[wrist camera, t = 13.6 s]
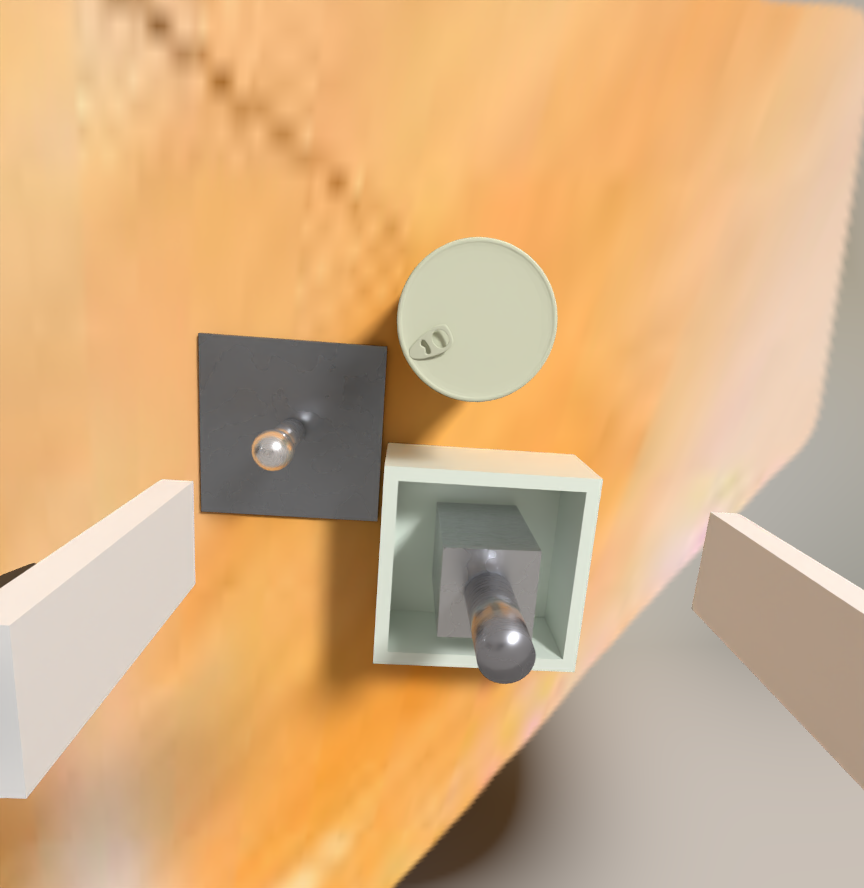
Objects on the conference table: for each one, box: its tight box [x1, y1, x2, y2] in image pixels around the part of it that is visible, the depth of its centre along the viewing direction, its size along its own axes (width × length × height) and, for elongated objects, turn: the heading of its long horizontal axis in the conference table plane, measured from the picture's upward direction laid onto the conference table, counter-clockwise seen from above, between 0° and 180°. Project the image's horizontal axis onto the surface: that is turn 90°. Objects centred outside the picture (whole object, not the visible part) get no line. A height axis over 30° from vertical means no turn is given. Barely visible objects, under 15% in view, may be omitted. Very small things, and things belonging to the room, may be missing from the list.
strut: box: [432, 502, 542, 684], centre depth 39 cm, size 6×6×16 cm
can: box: [397, 237, 557, 402], centre depth 37 cm, size 9×9×12 cm
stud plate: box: [198, 333, 387, 521], centre depth 41 cm, size 14×14×8 cm
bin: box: [373, 443, 603, 672], centre depth 44 cm, size 15×15×7 cm
